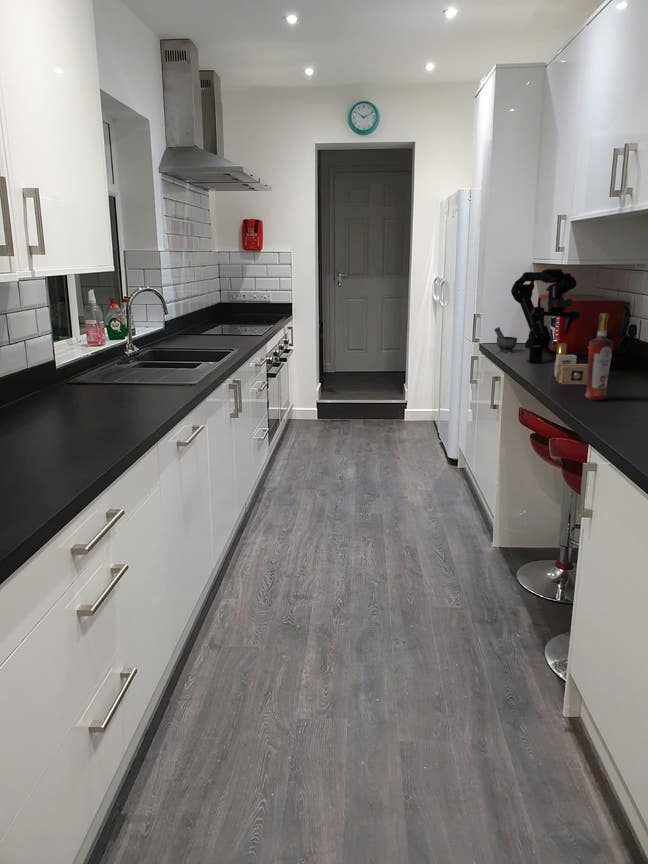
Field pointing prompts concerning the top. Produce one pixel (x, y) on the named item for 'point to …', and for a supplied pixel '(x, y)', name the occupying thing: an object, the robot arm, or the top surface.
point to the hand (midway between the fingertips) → (554, 333)
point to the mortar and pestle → (505, 341)
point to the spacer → (564, 357)
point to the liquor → (599, 362)
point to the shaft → (562, 351)
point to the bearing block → (566, 371)
